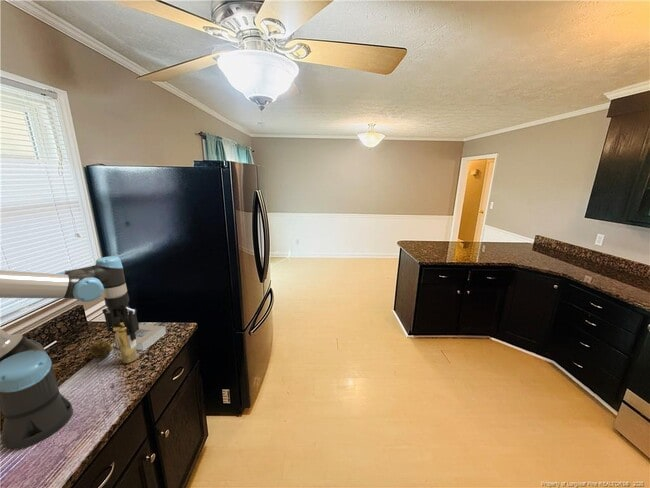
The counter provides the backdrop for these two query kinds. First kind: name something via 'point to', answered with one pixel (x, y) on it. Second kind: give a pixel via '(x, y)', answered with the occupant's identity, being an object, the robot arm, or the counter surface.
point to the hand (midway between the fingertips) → (127, 346)
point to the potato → (100, 349)
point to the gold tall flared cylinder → (124, 343)
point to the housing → (147, 336)
